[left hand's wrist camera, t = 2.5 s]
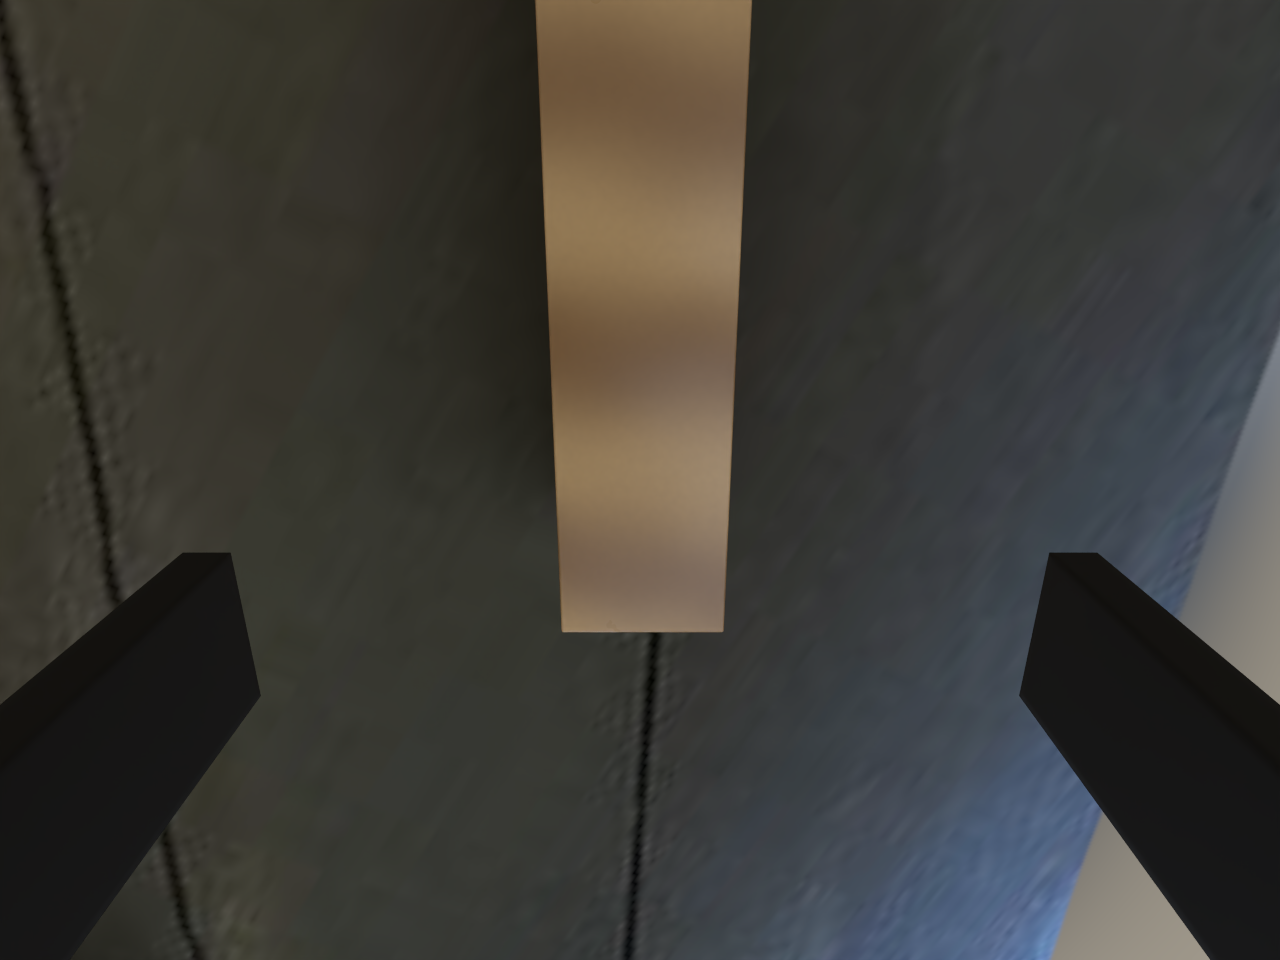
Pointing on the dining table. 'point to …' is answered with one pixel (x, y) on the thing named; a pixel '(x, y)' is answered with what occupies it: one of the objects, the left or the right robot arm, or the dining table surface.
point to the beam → (643, 300)
